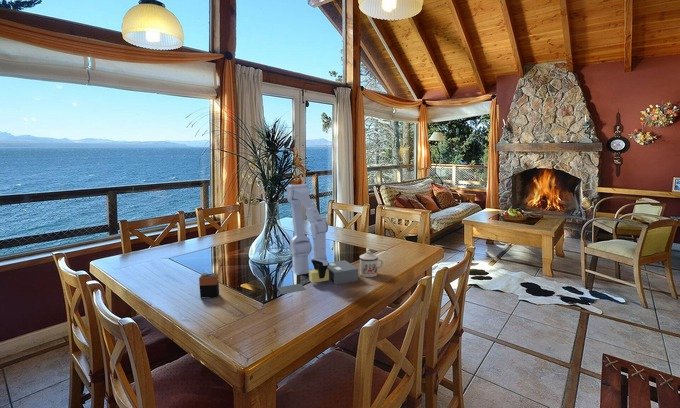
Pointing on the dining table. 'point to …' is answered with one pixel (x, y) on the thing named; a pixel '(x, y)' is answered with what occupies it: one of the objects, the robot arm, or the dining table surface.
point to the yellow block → (317, 276)
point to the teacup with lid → (369, 264)
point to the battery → (209, 285)
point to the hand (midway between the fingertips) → (320, 276)
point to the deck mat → (291, 288)
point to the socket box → (342, 272)
